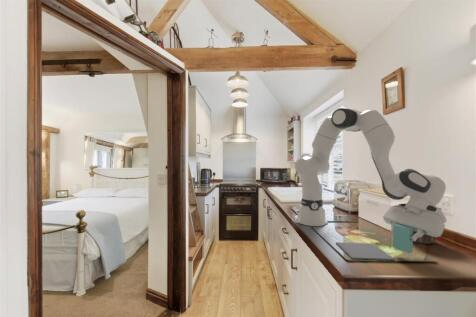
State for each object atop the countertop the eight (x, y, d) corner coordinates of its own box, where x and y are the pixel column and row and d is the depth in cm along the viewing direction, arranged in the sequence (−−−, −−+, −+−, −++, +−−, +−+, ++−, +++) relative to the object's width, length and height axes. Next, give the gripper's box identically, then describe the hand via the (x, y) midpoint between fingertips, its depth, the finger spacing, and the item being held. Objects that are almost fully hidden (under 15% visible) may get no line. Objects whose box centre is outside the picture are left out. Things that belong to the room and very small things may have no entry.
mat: (335, 243, 105) (335, 242, 105) (372, 244, 104) (372, 243, 104) (351, 259, 89) (351, 257, 89) (395, 260, 88) (395, 259, 88)
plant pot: (393, 232, 122) (393, 202, 122) (430, 236, 117) (431, 204, 117) (404, 243, 107) (405, 208, 107) (448, 248, 102) (449, 211, 102)
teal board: (396, 246, 94) (397, 224, 94) (412, 252, 89) (413, 228, 89) (392, 247, 94) (393, 224, 94) (408, 253, 88) (409, 229, 88)
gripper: (389, 199, 103) (373, 223, 100) (445, 210, 84) (427, 240, 81) (396, 209, 105) (380, 233, 101) (452, 221, 86) (435, 251, 83)
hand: (401, 236), depth 91 cm, fingers closed on teal board, 6 cm apart
